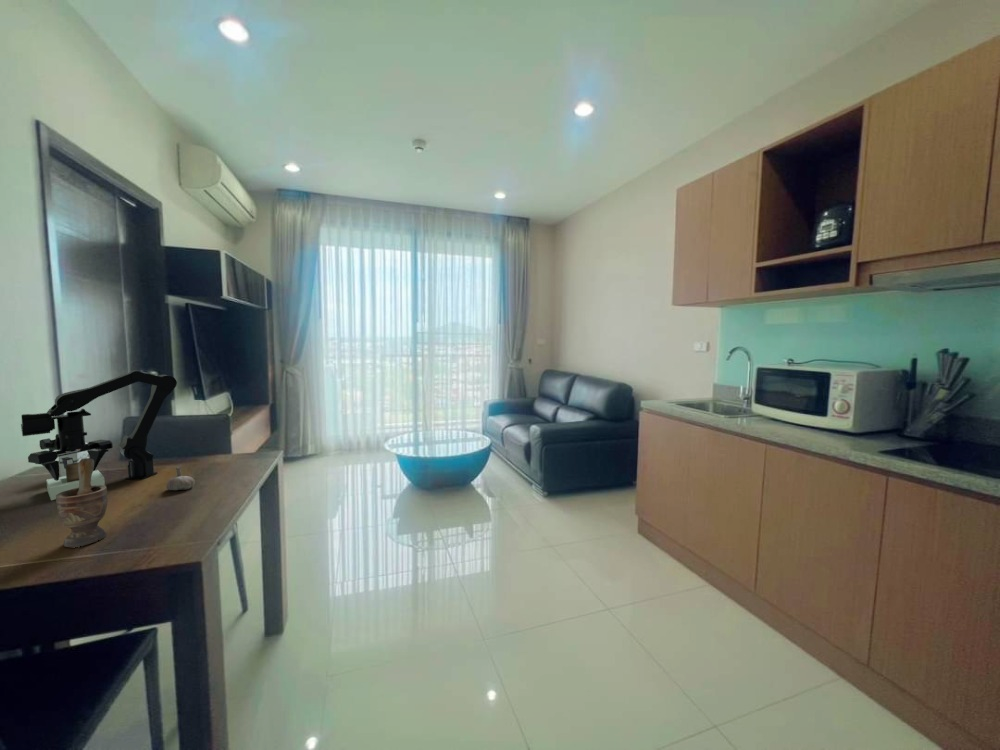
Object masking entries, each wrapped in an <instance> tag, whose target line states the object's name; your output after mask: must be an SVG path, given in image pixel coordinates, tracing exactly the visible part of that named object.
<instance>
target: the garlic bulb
mask: <svg viewBox="0 0 1000 750" xmlns="http://www.w3.org/2000/svg"><path fill="white" fill-rule="evenodd" d="M176 474H177V475H176V476H175V477H172V478H170V479H169V480H167V484H166V489H167V490H168V491H178V490H183V491H184V490H188V489H191V488H193V487H194V486H195V484H196V481H195V479H194V478H193V477H192V476H187V475H182V471H181V467H180V466H178V467H176Z"/></svg>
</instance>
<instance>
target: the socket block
mask: <svg viewBox="0 0 1000 750" xmlns="http://www.w3.org/2000/svg"><path fill="white" fill-rule="evenodd" d="M105 481H106V480H105V477H104V475H103V474H102V473H101V472H100V471H99V470H98V469H97V470H96V469H95V471H93V473H92V476H91V486H94V485H96V486H98V485H102V486H106V482H105ZM46 487H47V488H46V490H47V493H48V496H49V499H50V501H54V500H56V495H57V494H59V493H61V492H64V491H67V490H70V489H74V488H79V480H78V481H72V482H67V478H66V476H63V477H61V476H59V480H58V481H56V480H54V478H53V477H52V478H48V479H46Z"/></svg>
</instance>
